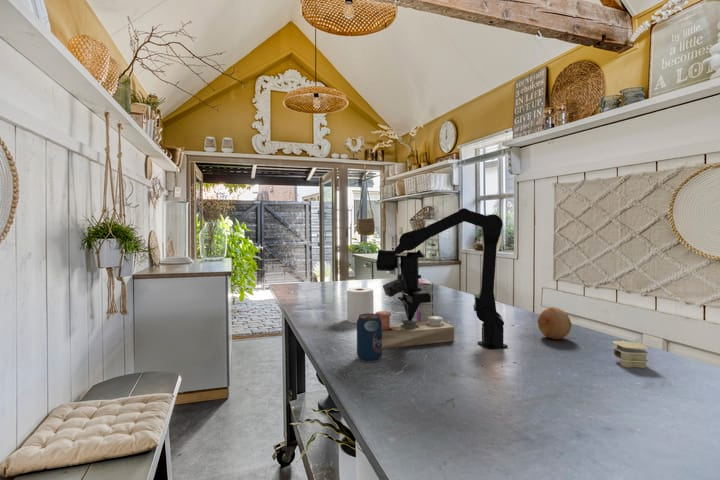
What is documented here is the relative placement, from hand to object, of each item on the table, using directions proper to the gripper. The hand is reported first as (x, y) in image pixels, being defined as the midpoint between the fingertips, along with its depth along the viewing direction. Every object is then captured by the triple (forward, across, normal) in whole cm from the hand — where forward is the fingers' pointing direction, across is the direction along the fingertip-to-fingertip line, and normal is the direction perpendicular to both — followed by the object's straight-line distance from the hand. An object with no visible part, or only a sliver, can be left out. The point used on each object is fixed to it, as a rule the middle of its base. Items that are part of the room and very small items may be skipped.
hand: (409, 320), depth 124 cm
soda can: (+7, +12, -18) cm, 22 cm away
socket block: (+6, 0, 0) cm, 7 cm away
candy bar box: (+7, -15, +12) cm, 21 cm away
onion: (+7, +13, +44) cm, 47 cm away
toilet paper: (+7, -30, -8) cm, 32 cm away
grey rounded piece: (+6, 0, 0) cm, 6 cm away
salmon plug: (+3, 0, -9) cm, 9 cm away
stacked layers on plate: (+7, +38, +46) cm, 59 cm away
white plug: (+6, 0, +9) cm, 11 cm away
